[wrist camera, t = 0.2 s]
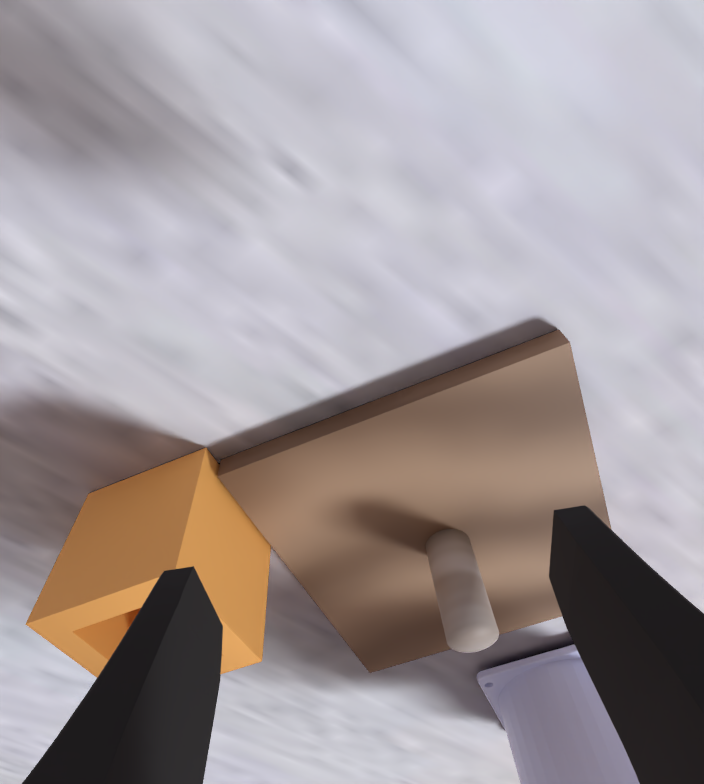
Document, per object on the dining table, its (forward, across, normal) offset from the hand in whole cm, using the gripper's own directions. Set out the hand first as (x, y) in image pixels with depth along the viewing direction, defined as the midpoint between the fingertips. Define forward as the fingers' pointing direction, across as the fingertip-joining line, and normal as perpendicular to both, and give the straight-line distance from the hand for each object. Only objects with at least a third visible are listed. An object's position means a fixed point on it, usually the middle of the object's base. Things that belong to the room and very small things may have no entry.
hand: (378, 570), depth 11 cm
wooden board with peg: (+10, -3, +10) cm, 15 cm away
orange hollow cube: (+10, +8, +7) cm, 15 cm away
